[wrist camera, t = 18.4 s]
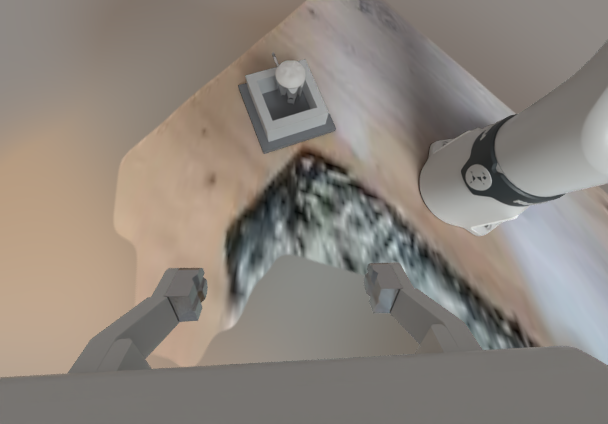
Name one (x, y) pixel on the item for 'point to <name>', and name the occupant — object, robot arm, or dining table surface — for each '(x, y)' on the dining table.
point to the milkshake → (289, 84)
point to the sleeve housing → (270, 118)
